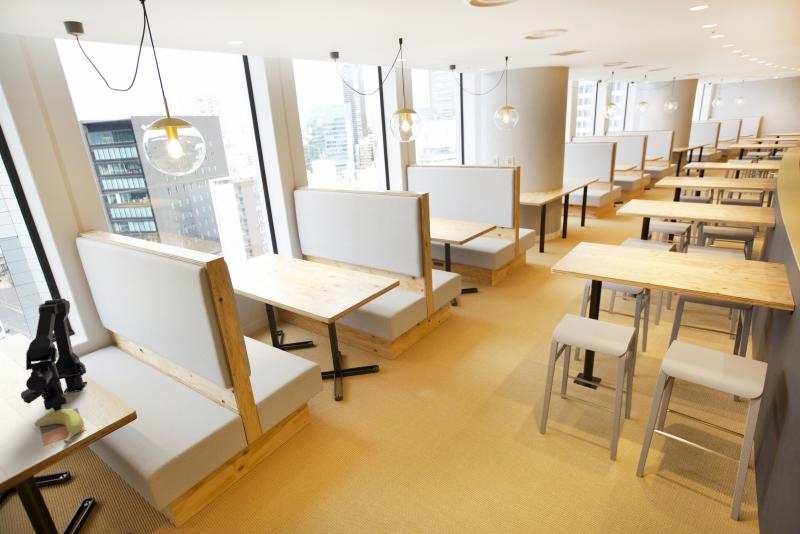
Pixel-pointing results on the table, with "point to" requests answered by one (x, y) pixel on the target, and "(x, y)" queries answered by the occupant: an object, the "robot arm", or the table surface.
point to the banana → (63, 421)
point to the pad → (56, 435)
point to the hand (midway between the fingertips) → (58, 412)
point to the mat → (53, 425)
